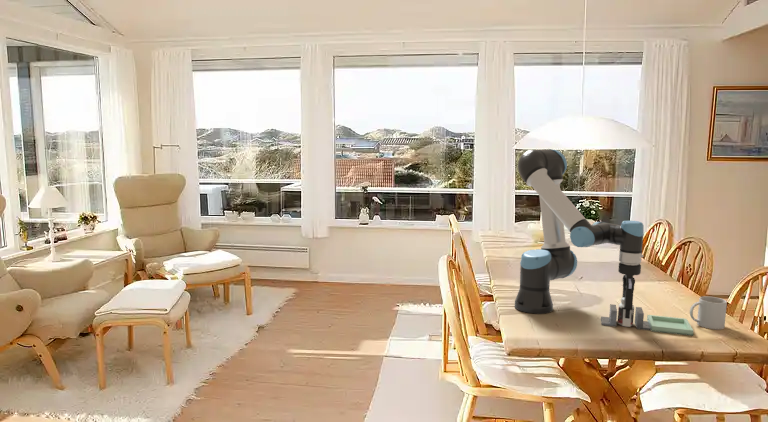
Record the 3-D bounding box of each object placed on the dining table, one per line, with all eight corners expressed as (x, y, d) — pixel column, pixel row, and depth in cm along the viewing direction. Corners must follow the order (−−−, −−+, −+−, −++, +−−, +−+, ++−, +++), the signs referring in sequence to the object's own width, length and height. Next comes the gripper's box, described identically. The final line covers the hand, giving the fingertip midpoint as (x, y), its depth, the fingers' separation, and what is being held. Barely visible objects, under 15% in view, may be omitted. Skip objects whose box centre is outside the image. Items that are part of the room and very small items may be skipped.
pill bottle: (614, 321, 211) (616, 296, 209) (628, 321, 211) (629, 296, 210) (622, 326, 205) (623, 301, 204) (635, 326, 206) (637, 300, 205)
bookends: (601, 325, 207) (602, 309, 206) (600, 318, 215) (601, 303, 214) (651, 330, 202) (653, 314, 201) (649, 323, 209) (650, 308, 208)
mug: (726, 325, 208) (729, 299, 207) (721, 331, 201) (723, 305, 200) (694, 318, 215) (696, 293, 214) (688, 324, 208) (690, 299, 207)
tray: (651, 331, 201) (651, 325, 201) (647, 319, 214) (647, 314, 213) (693, 335, 197) (693, 330, 197) (686, 323, 209) (686, 318, 209)
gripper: (643, 269, 195) (639, 332, 198) (638, 258, 212) (634, 316, 216) (620, 267, 198) (616, 330, 201) (617, 256, 215) (613, 314, 218)
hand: (625, 323), depth 208 cm, fingers closed on pill bottle, 5 cm apart
